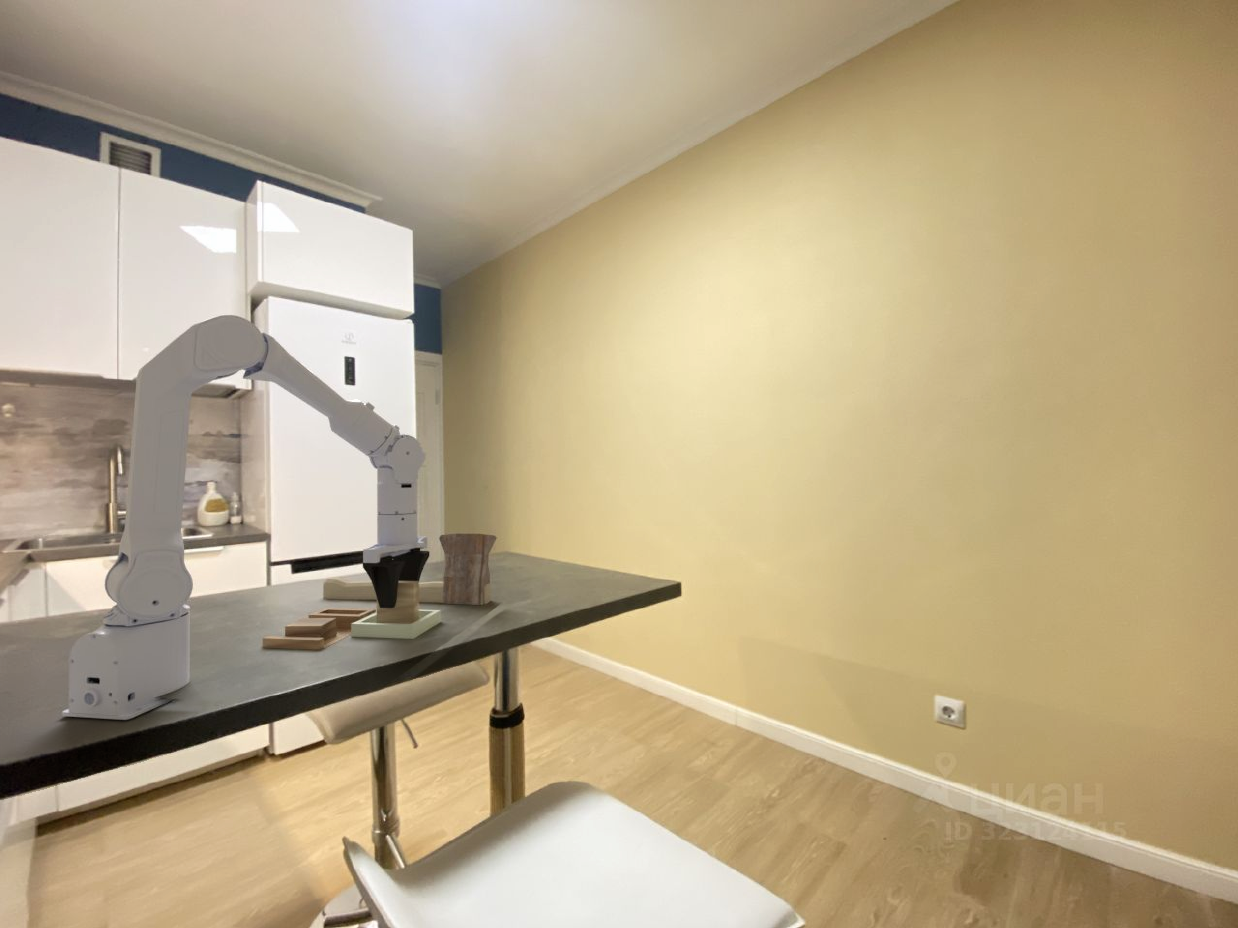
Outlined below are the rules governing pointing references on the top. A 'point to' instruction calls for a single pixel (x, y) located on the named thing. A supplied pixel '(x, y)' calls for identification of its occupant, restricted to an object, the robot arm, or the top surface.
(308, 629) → the offcut top
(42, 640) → the top surface
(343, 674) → the top surface
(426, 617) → the tray
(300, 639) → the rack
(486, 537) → the hand axe
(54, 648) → the top surface
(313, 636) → the offcut low
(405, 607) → the upright wooden block
